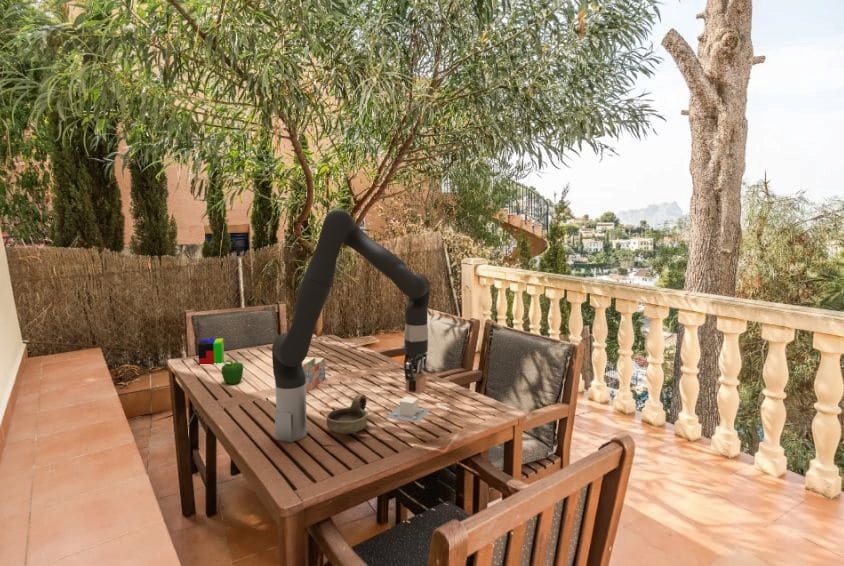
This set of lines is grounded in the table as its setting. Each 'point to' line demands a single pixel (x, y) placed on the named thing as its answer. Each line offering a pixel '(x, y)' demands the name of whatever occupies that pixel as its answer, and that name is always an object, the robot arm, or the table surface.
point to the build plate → (415, 418)
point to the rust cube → (418, 384)
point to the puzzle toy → (211, 351)
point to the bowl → (349, 417)
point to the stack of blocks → (313, 371)
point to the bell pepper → (232, 372)
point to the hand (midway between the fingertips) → (415, 388)
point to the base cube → (408, 406)
